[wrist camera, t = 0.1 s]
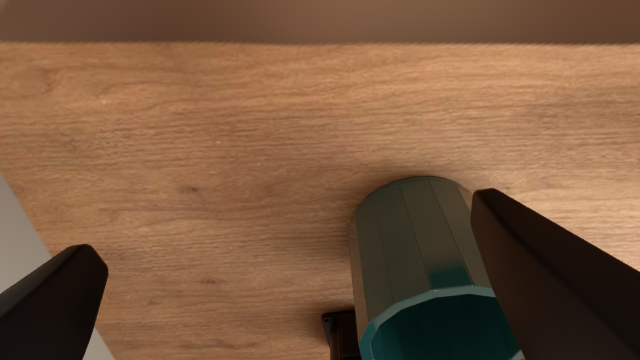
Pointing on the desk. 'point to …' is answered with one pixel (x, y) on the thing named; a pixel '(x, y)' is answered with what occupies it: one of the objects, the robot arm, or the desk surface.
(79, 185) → the desk surface
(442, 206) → the pot
